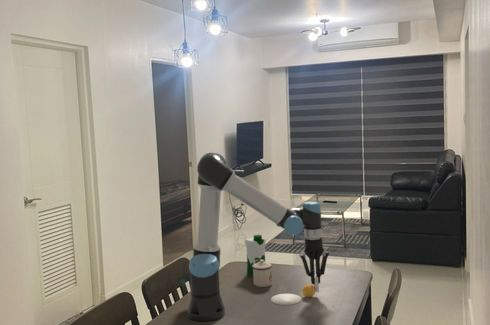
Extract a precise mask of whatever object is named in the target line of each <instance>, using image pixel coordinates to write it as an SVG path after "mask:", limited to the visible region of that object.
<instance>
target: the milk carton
mask: <svg viewBox="0 0 490 325" xmlns="http://www.w3.org/2000/svg"><path fill="white" fill-rule="evenodd" d="M266 240H267V239H266V238H263V236H262V234H256V235H255V234H254V235H253V237H249V238H246V239H244V243H245V247H246V266H247V267H246V275H248V276H251V277H253V265H254V264H256V263H258V262H260V260H264V262H266V249H265V248H266V242H267V241H266Z"/></svg>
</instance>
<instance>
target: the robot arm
mask: <svg viewBox="0 0 490 325" xmlns="http://www.w3.org/2000/svg"><path fill="white" fill-rule="evenodd" d="M196 168H197V169H196V171H197V185H198V186H199V187H200V194H199V195H200V198H199V210H198V211H199V212H198V213H199V214H198V227H197V230H198V231H197V241H196V242H197V243H196V244H194V245H193V248H192V249H193V250H192V257H191V258H190V259H189V263H188V272H189V282H190V285H189V286H190V299H189V304H188V308H187V317H188V318H189V319H190V320H192V321H195V322H211V321H216V320H219V319H221V318H222V317H223V316H225V315H226V307H225V305H224V302H223V299H222V297H221V294H220V293H221V292H220V291H221V290H220V275H219V274H220V267H221V246H219V244H218V240H219V224H220V211H221V196H222V192H223V191H225V192H227V193H228V194H230V195H231V196H233V197H234V198H236V199H237V200H239V201H241V202H242V203H244V204H245V205H247V206H249V207H250V208H251V209H253V210H254V211H256V212H257V213H259V214H261V215H262V216H263V217H265V218H267V219H268V220H270V221H271V222H273V223H274V224H276V226H277V227H278V228H279V227H280V228H282V230H283V229H284V231H285V232H286V233H287V234H289V235H292V236H296V235H298V234H300V233H301V232H302V231H303V232H304V250H303V252H302V253H301V254H299V258H300V259H301V262H302V264H303V267H304V271H305V274H306V276H308V277H310V283H311V285H312V286H313V287H314V288H315V293H318V292H319V285H320V284H321V277H322V276H323V275H325V271H326V266H327V260H328V258H329V255H330V253H329V252H328V251H327V250H326V251H325V249H324V247H323V246H324V245H323V238H322V237H323V232H322V231H323V229H322V208H321V204H320V202H318V201H305V202H303V203H302V206H301V207H293V208H292V207H291V208H290V207H289V208H287V207H285V206H284V205H282V204H281V203H279V202H277V201H276V200H275V199H273V198H271V197H270V196H268V195H267V194H265V193H264V192H263V191H261V190H259V189H258V188H256V187H255V186H253V185H252V184H251V183H249V182H247V181H246V180H244V179H243V178H242V177H240V176H238V175H237V174H236V173H235V172H236V171H235V170H234V169H232V168H231V167H230V166H228V165H227V161H226V159H225V157H223V155H221V154H220V153H217V152H208V153H204V155H202V157H201V158H200V159H199V161H198V164H197V167H196ZM321 256H322V258H321ZM306 258H308V260H309V265H308V261H307V259H306ZM320 261H321V262H320Z"/></svg>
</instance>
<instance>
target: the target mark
mask: <svg viewBox="0 0 490 325" xmlns="http://www.w3.org/2000/svg"><path fill="white" fill-rule="evenodd" d="M270 301H271V303H273V304H275V305H279V306H292V305H296V304H298V303H300V302H301V301H302V297H301V296H300V295H299V294H298V295H297V294H294V293H280V294H276V295H273V296H272V297H271V298H270Z"/></svg>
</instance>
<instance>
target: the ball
mask: <svg viewBox="0 0 490 325" xmlns="http://www.w3.org/2000/svg"><path fill="white" fill-rule="evenodd" d="M301 292H302V294H303V296H304V297H306V298H312V297H313V296H315V294H316V292H315V288H314V287H313V284H310V283H307V284H305V285H304V286H303V287H302V290H301Z"/></svg>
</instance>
